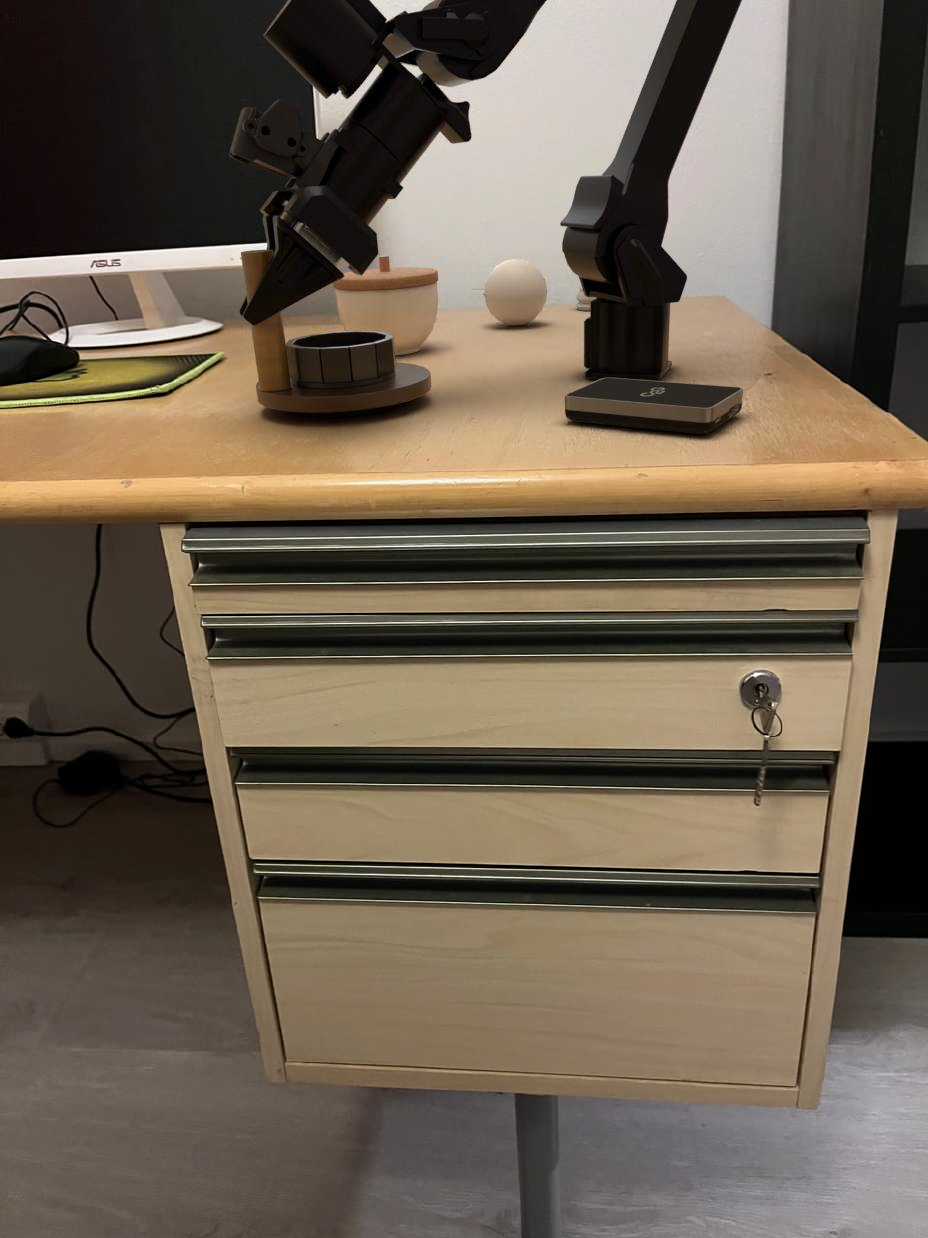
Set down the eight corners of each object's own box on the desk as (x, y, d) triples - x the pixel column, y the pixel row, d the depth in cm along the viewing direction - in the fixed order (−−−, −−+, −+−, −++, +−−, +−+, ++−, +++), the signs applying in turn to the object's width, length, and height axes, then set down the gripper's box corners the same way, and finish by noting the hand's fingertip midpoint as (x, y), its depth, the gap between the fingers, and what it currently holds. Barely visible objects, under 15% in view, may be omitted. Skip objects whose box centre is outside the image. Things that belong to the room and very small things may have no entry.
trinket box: (429, 359, 94) (422, 258, 90) (326, 361, 96) (315, 262, 92) (452, 341, 104) (447, 249, 100) (358, 342, 106) (349, 252, 102)
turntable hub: (411, 395, 80) (410, 383, 79) (369, 419, 73) (368, 406, 72) (326, 393, 82) (325, 381, 82) (278, 415, 76) (276, 402, 75)
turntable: (383, 368, 86) (372, 234, 81) (463, 392, 75) (455, 239, 70) (233, 392, 80) (211, 248, 75) (297, 422, 69) (276, 256, 64)
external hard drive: (708, 439, 63) (710, 408, 62) (560, 423, 69) (559, 395, 68) (743, 415, 68) (745, 387, 67) (602, 403, 74) (603, 376, 73)
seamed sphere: (561, 323, 111) (560, 256, 108) (515, 332, 107) (514, 262, 104) (502, 317, 118) (500, 254, 115) (457, 325, 114) (454, 260, 111)
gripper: (271, 77, 74) (151, 240, 76) (307, 39, 58) (154, 247, 60) (379, 182, 79) (265, 332, 81) (441, 175, 63) (296, 363, 65)
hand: (245, 319), depth 72 cm, fingers open, 3 cm apart
